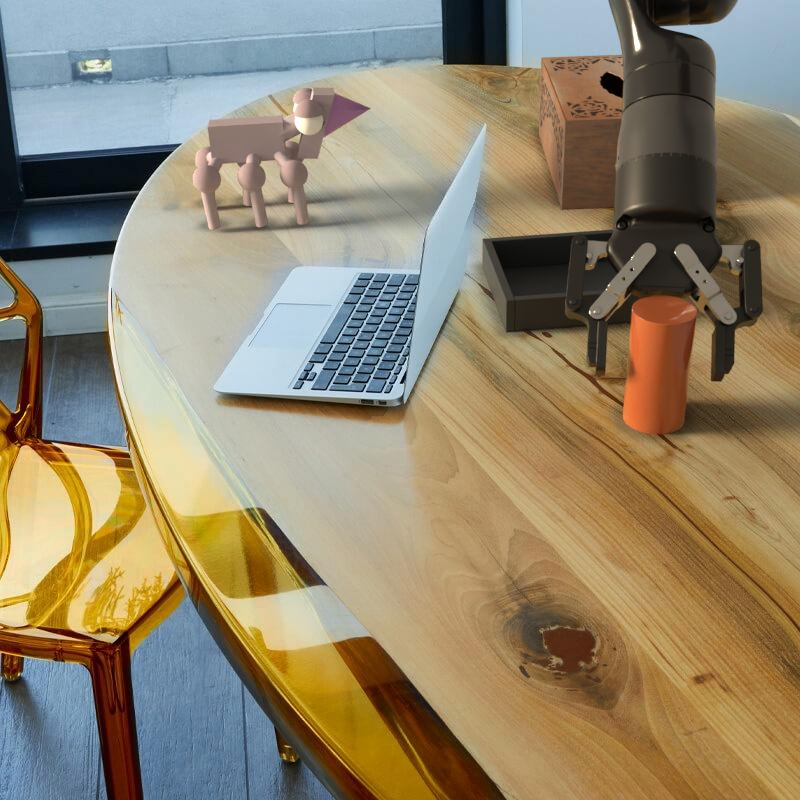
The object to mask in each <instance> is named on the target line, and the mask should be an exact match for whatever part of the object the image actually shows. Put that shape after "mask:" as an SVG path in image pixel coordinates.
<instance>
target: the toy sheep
mask: <svg viewBox="0 0 800 800" xmlns="http://www.w3.org/2000/svg"><path fill="white" fill-rule="evenodd" d="M292 103H293V112H292V113H290V114H289V115H287V116H285V117H284V115H283V114H282V115H281V114H280V115H265V116H249V117H233V118H218V119H217V118H216V119H209V120H208V124H207V134H208V141H209V146H203V147H201V148H199V150H197V152H196V154H195V156H194V163H195V166H196V167H197V168H196V169H195V170H194V171H193V174H192V184H193V186H194V187H195V189H196V190H197V191H199V192H200V196H201V199H202V205H203V209H204V213H205V218H206V221H207V226H208V229H209V230H211V231H215V230H217V229H220V228H221V227H222V223H221V219H220V214H219V211H218V206H217V201H216V191H217V190H218V189H219V188H220V186H221V183H222V177H221V176H222V175H221V173H220V171H221V169H222V167H223V165H224V164H226V165H227V164H236V165H237V166H238V167H239V169H238V171H237V182H238V184H239V185H240V187H241V188H242V204H243V206H246V207H252V212H253V217H254V223H255V227H256V228H265V227H266V226H268V224H269V220H268V215H267V209H266V205H265V199H264V194H263V187H264V185H265V183H266V179H267V176H266V172H265V170H264V168H263V166H261V164H262V162H269V161H271V162H272V161H275V162H276V163H277V165H278V166H279V167H280V170H279V179H280V181H281V183H282V184H283V185H284V186H285V187H287V199H288V200H287V201H288V203H291V204H293V207H294V213H295V218H296V223H297V225H306V224H308V223H309V222H310V217H309V211H308V210H309V209H308V205H307V200H306V194H305V193H306V192H305V187H304V184H306V182H307V180H308V177H309V172H308V168H307V167H306V165H305V164H304V163H303V162H304V160H307V159H308V160H310V159H311V160H318V159H319V155H320V152H321V147H322V143H323V141H324V138H326V137H327V136H329V135H330V134H332V133H334V132H335V131H337V130H338V129H339V130H340V128H342V127H343V126H345V125H347V124H348V123H350V122H352V121H353V120H355V119H356V118H358V117H360V116H361V115H363V114H365V113H366V112H368V111H369V110H371V109H372V108H371V107H369V106H367V105H364V104H362V103H360V102H357V101H355V100H352V99H349V98H348V97H345V96H342V95H340V94H338V93H335V88H334V87H312V88H310V87H304V88H300V89H299V90H297V91H296V92H295V93H294V95H293V97H292ZM299 135H300V137H299V140H298V142H297V141H293V140H292V139H293V138H295V137H297V136H299Z"/></svg>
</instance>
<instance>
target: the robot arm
mask: <svg viewBox="0 0 800 800" xmlns="http://www.w3.org/2000/svg"><path fill="white" fill-rule="evenodd" d="M607 2H608V5H609V9H610V12H611V15H612V18H613V22H614V24H615V28H616V32H617V35H618V40H619V46H620V49H621V55H622V57H623V103H622V120H621V127H620V132H619V137H618V144H617V159H616V163H615V170H616V184H615V206H614V207H613V208H614V209H613V234H612V236H611V238H610V239H609V241H608V242H605V241H592V240H588V239H587V237H586V236H585V235H583V234H577V235H575V236H574V237H573V239H572V244H571V253H570V262H569V272H568V281H567V291H566V300H565V314H566V316H567V317H568V318H570V319H577V320H580V321H582V322H584V323H585V324H586V325H587V326H586V328H587V338H586V339H587V342H586V359H585V361H586V363H587V366H588V368H595V370H594V376H602V377H603V376H605V374H606V368H607V349H608V328H609V325H608V321H607V320H608V319H609V317H610V316H611V315H612V314H613V313H614V312H615V310H616V309H618V308H619V307H620V306H621V305H622V304H623V303H624V302H625V300H626V299H627V298H628V297H629V296H630V295H631V293H632V294H633V295H635V296H637V297H639V299H641V298H644V297H648V296H656V295H665V296H673V297H678V298H681V299H684V300H685V299H687V298H689V299H690V300H691V301H692V304H693V305H694V306H695V307H696V309H697V310H698V311H699V312H701V313H703V315H704V316H705V317H706V318H707V320H708V321H709V322H710V323H711V325H712V326H713V328H714V329H713V331H712V333H711V350H710V351H711V357H710V381H711V382H717V383H718V382H719V383H721V382H722V381H723V380H724V378H725V375H729V374H730V373H731V370H732V369H733V367H734V364H735V353H736V352H735V346H736V345H735V343H736V331H737V330H738V329H741V328H745V327H748V328H749V327H750V328H751V327H753V326H754V325H755V324H756V323H757V322H758V319H759V318H760V317H761V316H762V314H763V311H764V305H763V304H764V303H763V279H762V276H763V275H762V253H761V244H760V242H759V241H758V240H756V239H748V240H746V241H745V242H744V243H743V244H721V242H720V241H719V238H718V237H717V231H716V230H717V229H716V228H717V190H718V189H717V188H718V187H717V183H718V132H717V124H716V91H717V89H716V88H717V86H716V85H717V61H716V60H717V59H716V54H715V51H714V50H713V47H712V46H711V45H710V43H708V42H707V41H706V40H704V39H703V38H701V37H698V36H696V35H693V34H689V33H685V32H681V31H676V30H672V29H667V28H664V27H679V26H681V27H682V26H701V25H711V24H716V23H718V22H721V21H723V20H724V19H726V18H727V17H728V16H729V15H730V13H732V12H733V10H734V8H735V7H736V5H737V4H738V2H739V0H607ZM602 257H606V259H607V261H608V262H609V264H610V265H611V266H612V268H613V269H614V271H615V272H616V273H617V275H616V276H615V277H614V279H613V280H612V281H611V282H610V283H609V285H608V286H607V288H606V289H605V291H604V292H603V293H602V294H601V295H600V297H599V298H598V299H597V300H596V301H595V302H594V303H591V302H589V301H586V300H584V299H582V296H583V287H584V277H585V270H592V269H593V268H595V266H596V264H597V261H598V260H599V259H600V258H602ZM720 262H724V263H725V264H726V265H727V266H728V270H729V272H730V273H731V274H732V275H734V276H738V299H739V301H738V303H739V306H738V307H732V306H731V304H730V302H728V300H727V298H725V296H724V294H723V293H722V290H721V288H720V286H719V285H718V284H717V282H716V280H714V278H713V276H712V275H711V273H712V272H713V271H714V270H715V269H716V267H717V266H718V265H719V263H720Z"/></svg>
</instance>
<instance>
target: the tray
mask: <svg viewBox="0 0 800 800" xmlns="http://www.w3.org/2000/svg"><path fill="white" fill-rule="evenodd" d="M577 234H583V235H585V236H586V237H587V239H588V240H592V241H605V242H608V241H609V239H610V238H611V236H612V234H613V229H601V230H600V229H599V230H598V229H597V230H585V231H572V232H571V231H569V232H558V233H557V232H556V233H544V234H541V233H540V234H527V235H515V236H501V237H500V236H499V237H491V238H490V237H486V238H482V253H481V255H482V257H481V258H482V265H481V266H482V271H483V274H484V276H485V279H486V282H487V285H488V287H489V290H490V293H491V296H492V298H493V302H494V305H495V307H496V309H497V312H498V316H499V317H500V321H501V323H502V326H503V330H504V332H505V333H516V332H530V331H531V332H532V331H543V330H544V331H545V330H558V329H571V328H584V327H585V328H586V327H587V325H586V324H585V323H584V322H582V321H580V320H577V319H570V318H568V317H567V316H566V314H565V300H566V291H567V281H568V272H569V262H570V253H571V244H572V239H573V237H574V236H575V235H577ZM616 275H617V273H616V272H615V271H614V269H613V268H612V266H611V265H610V264H609V262H608V261H607V259H606V257H602V258H600V259H599V260H598V261H597V264H596V266H595V268H593V269H592V270H585V277H584V287H583V296H582V299H584V300H586V301H589V302H591V303H594V302H595V301H596V300H597V299H598V298H599V297H600V295H601V294H602V293H603V292H604V291H605V289H606V288H607V286H608V285H609V283H610V282H611V281H612V280H613V279H614V277H615V276H616ZM637 300H639V297H637V296H635V295H633V294H632V293H631V295H630V296H629V297H628V298H627V299H626V300H625V302H624V303H623V304H622V305H621V306H620V307H619V308H618V309H616V310H615V312H614V313H613V314H612V315H611V316H610V317H609V319H608V320H607V321H608V326H609V325H611V326H612V325H622V324H631V313H632V306H633V304H634V303H635V302H636V301H637Z"/></svg>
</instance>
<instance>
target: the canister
mask: <svg viewBox="0 0 800 800" xmlns="http://www.w3.org/2000/svg"><path fill="white" fill-rule="evenodd" d="M697 318H698V308H697V307H696V305H695V304H694V303H693V302H691V301H689V300H687V299H685V298H684V299H681V298H678V297H673V296H665V295H656V296H648V297H644V298H641V299H639V300H637V301H636V302H635V303H634V304H633V306H632V313H631V323H629V324H630V326H629V327H630V328H629V336H628V337H629V339H628V347H627V361H626V373H625V383H624V385H625V386H624V395H623V396H624V397H623V406H622V419H623V421H624V423H625V424H626V426H628V427H630V428H631V429H632V430H634V431H637V432H640V433H643V434H648V435H668V434H671V433H675V432H676V431H679V429H681V428H682V427H683V426H684V424H685V417H686V410H687V400H688V393H689V384H690V377H691V368H692V361H693V352H694V351H693V350H694V345H695V337H696V329H697V328H696V327H697Z"/></svg>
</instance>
